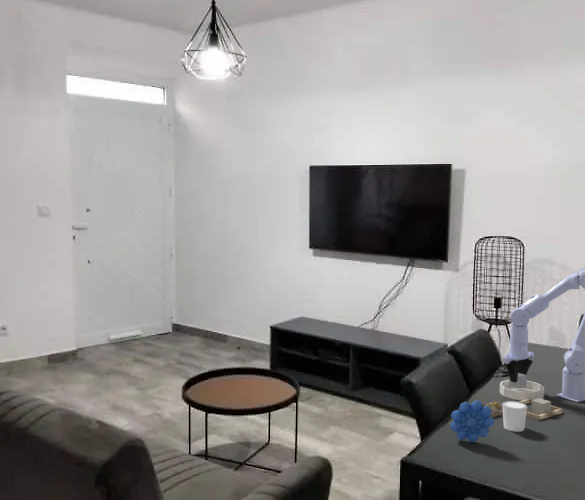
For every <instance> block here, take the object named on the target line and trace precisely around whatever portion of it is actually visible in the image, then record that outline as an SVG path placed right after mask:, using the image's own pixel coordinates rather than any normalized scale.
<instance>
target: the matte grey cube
mask: <svg viewBox="0 0 585 500" xmlns="http://www.w3.org/2000/svg"><path fill="white" fill-rule="evenodd" d="M527 378H528V375H524V374H521V373H518V378H517V382H516V383H514V382H511V381H510V377H509V379H508V380H509V385H510V386H513V387H516V388H523V387H527V381H528V379H527Z"/></svg>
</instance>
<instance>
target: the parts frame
mask: <svg viewBox="0 0 585 500" xmlns="http://www.w3.org/2000/svg"><path fill="white" fill-rule="evenodd" d="M532 400H533V399H526V400H522V401H521V400H517V402H520V403H523V404H525V405H527V404H532ZM560 414H563V408H561V407H557V406H554V405H552V404H551V412H548V413H544V414H541V415H537V414H534V413H531V412H530V411H527V413H526V417H528V418H531V419H534V420H537V421H542V420H544V419H548V418H550V417H554V416H557V415H560Z"/></svg>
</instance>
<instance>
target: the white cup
mask: <svg viewBox="0 0 585 500" xmlns="http://www.w3.org/2000/svg"><path fill="white" fill-rule="evenodd" d="M501 404H502V407H503V415H502V418H503V428H504V430H507V431H510V432H517V433H519V432H523V431H525V428H526V427H525V426H526V419H527V416H526V413H527V412H528V411H527V410H528V405H527V404H523V403H520V402H518V401H516V400H514V401H513V400H511V401H510V400H508V401H504V402H502V403H501Z"/></svg>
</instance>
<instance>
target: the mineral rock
mask: <svg viewBox="0 0 585 500" xmlns="http://www.w3.org/2000/svg"><path fill="white" fill-rule="evenodd" d="M502 404H503V403H501V401H500V402H499V401H497V400H494V401H490V402H487V403H486V404H485V405H484V404H482V407H484V406H488V407H490V408H491V410H492V412H491V414H490V417H492V418H493V419H494V418H496V417H498V416H503V407H502Z"/></svg>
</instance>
